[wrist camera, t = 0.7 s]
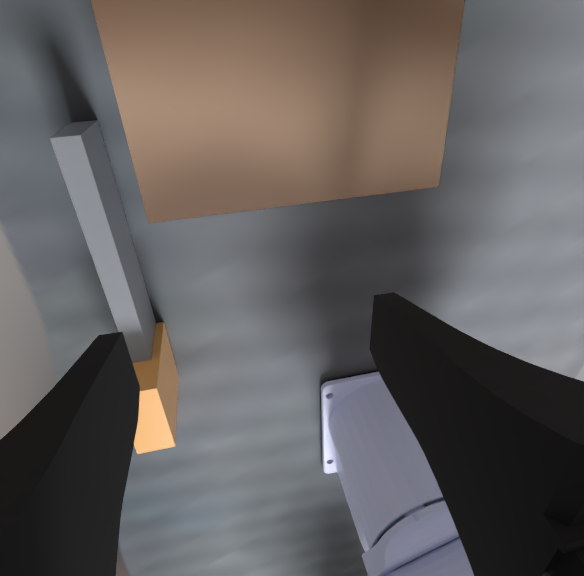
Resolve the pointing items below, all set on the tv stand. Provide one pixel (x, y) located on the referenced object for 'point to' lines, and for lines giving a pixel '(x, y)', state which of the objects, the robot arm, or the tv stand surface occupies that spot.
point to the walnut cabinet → (279, 98)
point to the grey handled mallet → (121, 279)
